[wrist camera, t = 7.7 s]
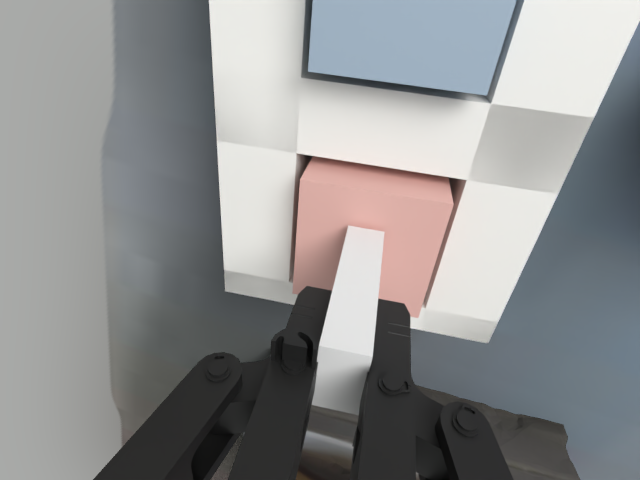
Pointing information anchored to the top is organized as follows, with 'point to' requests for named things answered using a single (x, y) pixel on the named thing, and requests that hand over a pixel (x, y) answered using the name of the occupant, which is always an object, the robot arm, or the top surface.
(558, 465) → the bible
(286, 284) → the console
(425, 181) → the key rose
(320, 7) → the key slate
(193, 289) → the top surface
